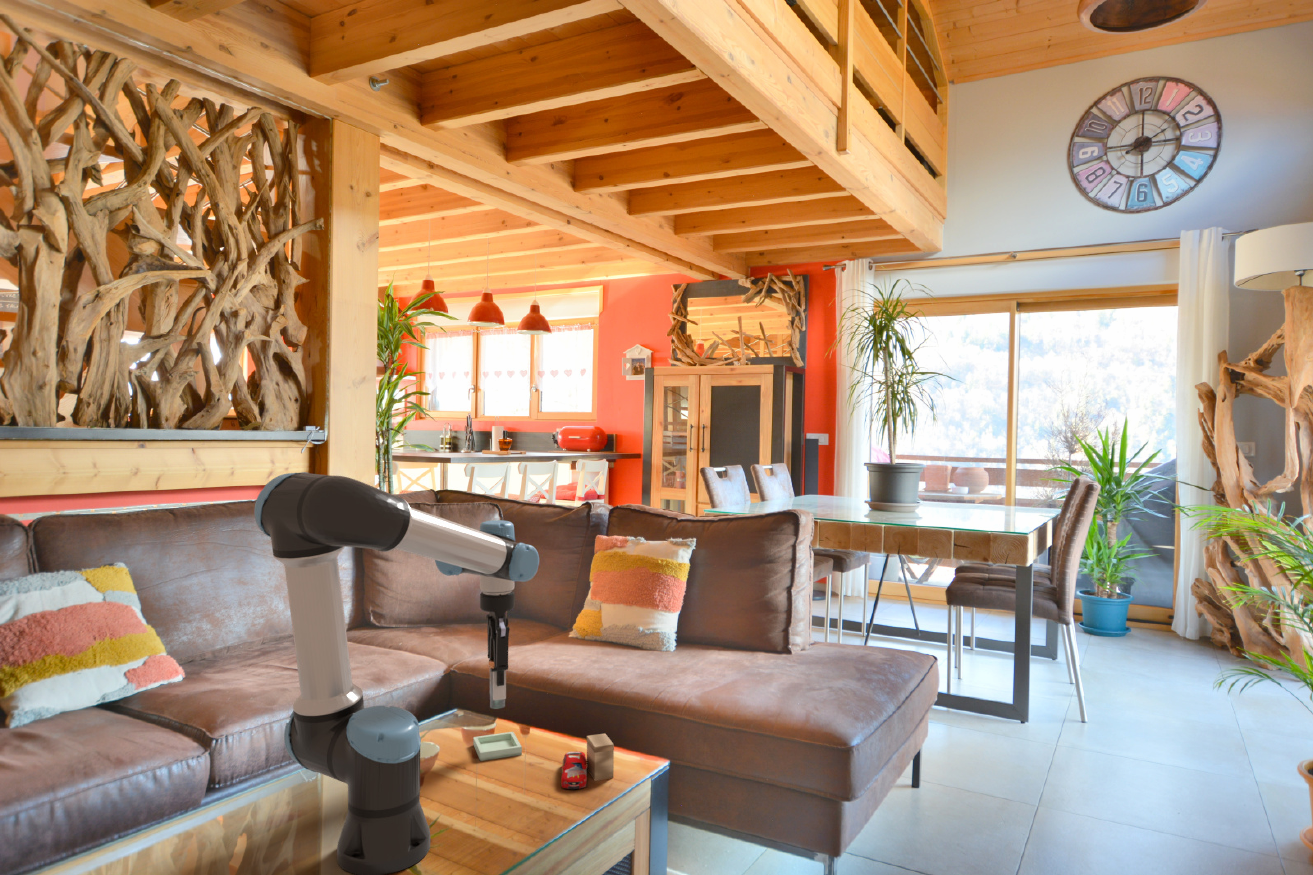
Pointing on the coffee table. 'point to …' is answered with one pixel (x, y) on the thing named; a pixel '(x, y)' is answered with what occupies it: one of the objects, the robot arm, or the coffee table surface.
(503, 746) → the tray
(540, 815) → the coffee table surface
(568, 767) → the race car
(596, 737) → the brown lidded box
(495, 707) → the pin
